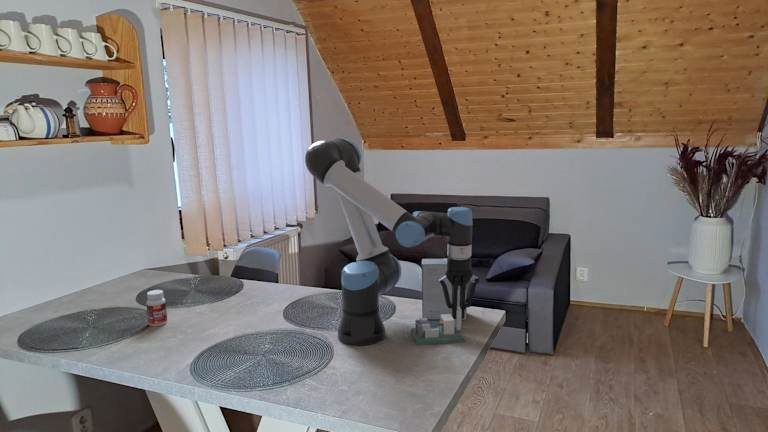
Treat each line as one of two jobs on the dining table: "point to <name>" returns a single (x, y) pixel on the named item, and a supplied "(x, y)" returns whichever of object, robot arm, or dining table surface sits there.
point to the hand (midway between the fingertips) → (457, 327)
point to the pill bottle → (156, 308)
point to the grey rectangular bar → (432, 323)
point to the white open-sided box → (447, 324)
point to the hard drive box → (436, 289)
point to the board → (437, 339)
